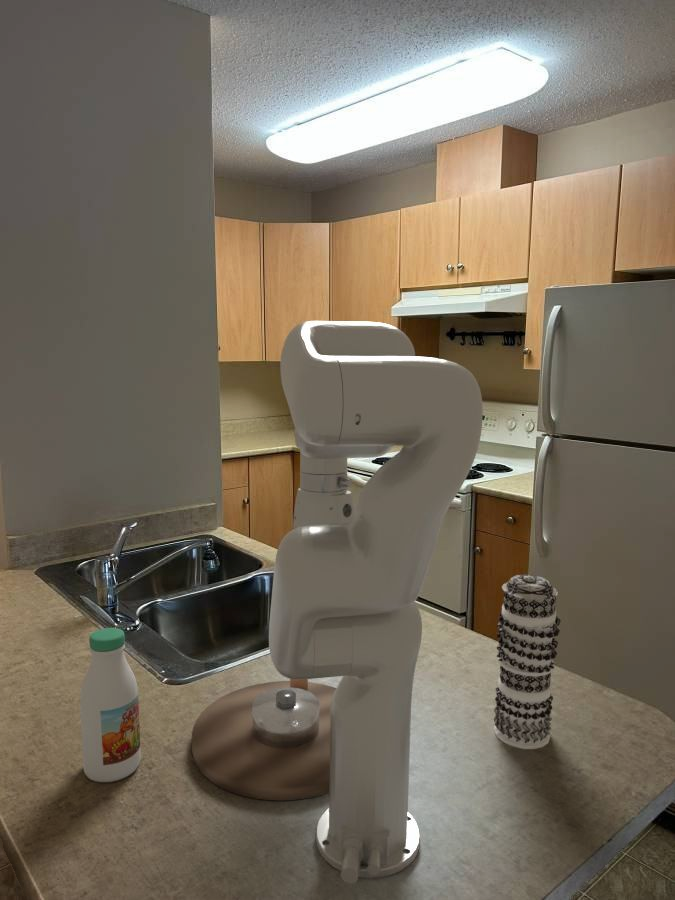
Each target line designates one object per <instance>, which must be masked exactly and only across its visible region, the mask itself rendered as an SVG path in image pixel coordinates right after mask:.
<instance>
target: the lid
mask: <svg viewBox="0 0 675 900" xmlns="http://www.w3.org/2000/svg"><path fill="white" fill-rule="evenodd" d="M252 723H253V735H254V737H255V738H256V739H257V740H258V741H259V742H260V743H262V744H264V745H266V746H270V747H274V748H294V747H299V746H302V745H305V744H307V743H309V742H310V741H312V740H313V739H314V738H315V737H316V736H317V734H318V732H319V700H318V698H317V697H316V696H315V695H314V694H312V693H311V692H309V691H306V690H303V689H299V688H291V687H284V688H276V689H272V690H268V691H266V692H264V693H262V694H260V695H259V696H258V697H256V699H255V700H254V701H253V705H252Z"/></svg>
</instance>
